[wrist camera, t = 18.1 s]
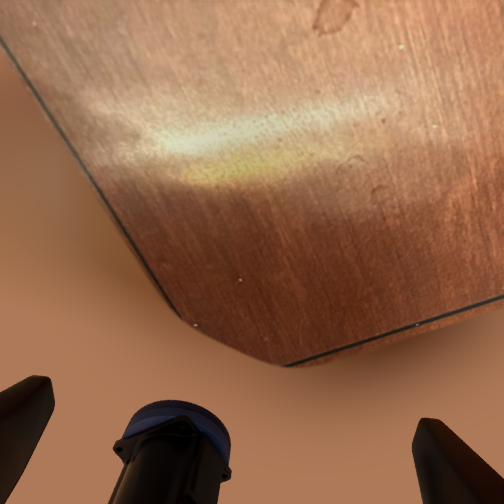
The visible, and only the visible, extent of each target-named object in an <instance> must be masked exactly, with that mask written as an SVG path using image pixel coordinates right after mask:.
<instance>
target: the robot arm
mask: <svg viewBox="0 0 504 504" xmlns="http://www.w3.org/2000/svg"><path fill="white" fill-rule="evenodd" d="M54 407H55V399H54V393H53V388H52V382H51V379H50V378H49V377H47V376H38V375H32V376H30V377H28V378H26V379H24V380H22V381H20V382H18V383H17V384H15V385H13V386H11V387H9V388H8V389H6V390H4V391H2V392H0V504H5V502H6V501H7V499H8V497H9V496H10V494H11V492H12V491H13V489H14V488H15V486H16V484H17V482H18V481H19V479H20V477H21V475H22V474H23V472H24V470H25V468H26V466H27V464H28V462H29V460H30V458H31V456H32V454H33V452H34V450H35V448H36V446H37V444H38V442H39V440H40V438H41V436H42V434H43V431H44V429H45V427H46V425H47V423H48V421H49V419H50V417H51V415H52V413H53V411H54ZM182 422H184V423H182ZM113 450H114V452H115V453H116V454H117V455H118V456H119V457H120V458H121V459H122V461H123V462H124V463H125V465H124V467H123V469H122V472H121V474H120V477H119V479H118V481H117V484H116V486H115V488H114V490H113V493H112V495H111V497H110V500H109V502H108V504H217V502H218V496H219V489H220V483H222V482H225V481H228V480H230V478H231V472H232V471H231V469H230V468H229V466H228V465H227V464H226V463H225V461H224V460H223V459H222V458H221V456H220V455H219V454H218V453H217V451H216V450H215V449H214V448H213V446H212V445H211V444H210V443H209V441H208V440H207V439H206V438H205V436H204V435H203V434H202V433H201V431H200V430H199V429H198V428H197V426H196V425H195V424H194V423H193V421H192V420H191V419H190V418H189V417H188V416H186V415H179V416H177V417H174V418H172V419H169V420H167V421H164V422H162V423H159V424H157V425H154V426H152V427H149V428H147V429H144V430H142V431H139V432H137V433H134V434H132V435H129V436H127V437H125V438H122V439H120V440H117V441H116V442H115V444H114V447H113ZM412 453H413V458H414V463H415V468H416V472H417V477H418V482H419V487H420V492H421V496H422V501H423V504H504V479H503V478H502V477H501V476H500V475H499V474H498V473H497V472H496V471H495V470H494V469H493V468H492V467H490V466H489V465H488V464H487V463H486V462H485V461H484V460H483V459H482V458H481V457H480V456H479V455H478V454H477V453H475V452H474V451H473V450H472V449H471V448H470V447H469V446H468V445H467V444H466V443H465V442H463V440H461V439H460V438H459V437H458V436H457V435H456V434H455V433H454V432H453V431H452V430H451V429H449V428H448V426H446V425H445V424H444V423H443V422H442V421H440V420H438V419H433V418H432V419H431V418H421V419H420V421H419V423H418V426H417V429H416V432H415V435H414V438H413V442H412Z"/></svg>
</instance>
